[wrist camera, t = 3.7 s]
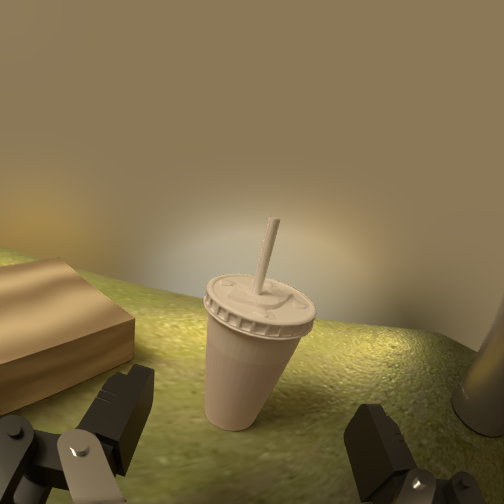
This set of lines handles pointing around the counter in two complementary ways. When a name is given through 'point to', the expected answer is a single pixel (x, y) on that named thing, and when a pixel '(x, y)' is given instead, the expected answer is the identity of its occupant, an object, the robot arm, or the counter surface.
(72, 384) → the riser
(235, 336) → the smoothie
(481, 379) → the robot arm
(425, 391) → the counter surface
